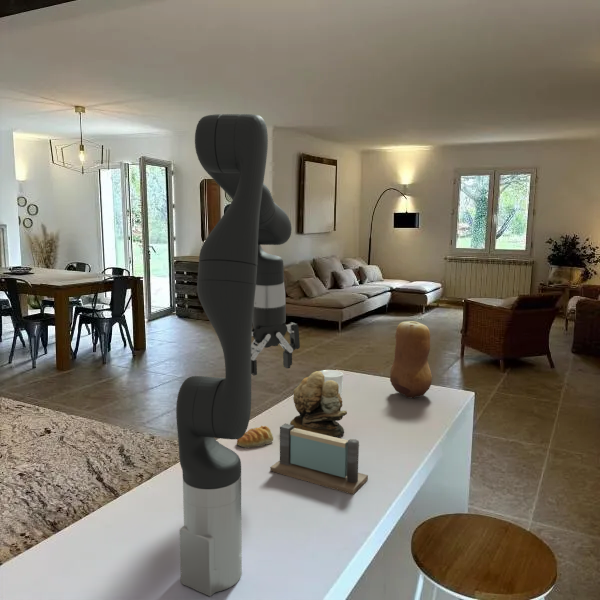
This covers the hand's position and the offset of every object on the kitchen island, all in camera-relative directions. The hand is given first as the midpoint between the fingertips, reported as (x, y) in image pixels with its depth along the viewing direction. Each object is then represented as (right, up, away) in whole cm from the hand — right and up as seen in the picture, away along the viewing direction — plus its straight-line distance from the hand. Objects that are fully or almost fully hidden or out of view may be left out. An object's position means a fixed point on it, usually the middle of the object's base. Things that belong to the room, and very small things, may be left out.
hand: (270, 370), depth 126 cm
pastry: (-5, -21, +18) cm, 28 cm away
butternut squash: (+43, -16, +56) cm, 73 cm away
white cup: (+16, -17, +48) cm, 53 cm away
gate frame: (+11, -24, -1) cm, 26 cm away
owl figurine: (+12, -20, +26) cm, 35 cm away
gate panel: (+11, -22, -1) cm, 25 cm away
